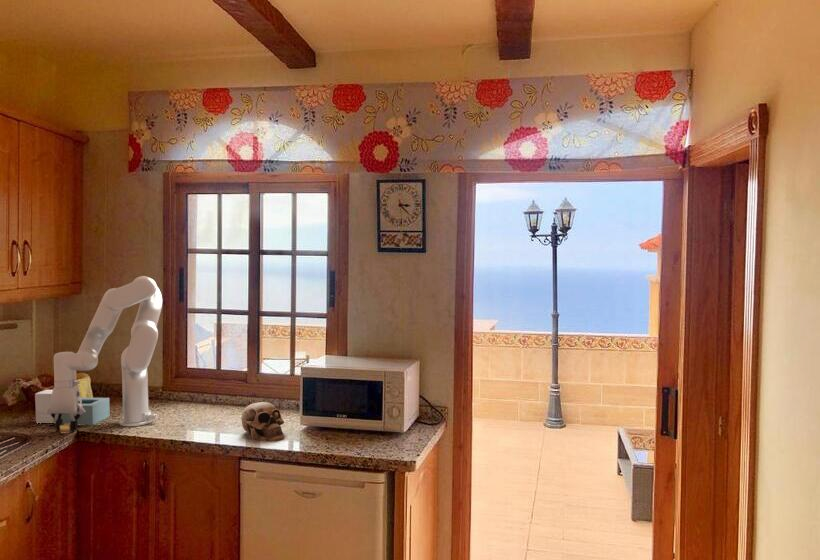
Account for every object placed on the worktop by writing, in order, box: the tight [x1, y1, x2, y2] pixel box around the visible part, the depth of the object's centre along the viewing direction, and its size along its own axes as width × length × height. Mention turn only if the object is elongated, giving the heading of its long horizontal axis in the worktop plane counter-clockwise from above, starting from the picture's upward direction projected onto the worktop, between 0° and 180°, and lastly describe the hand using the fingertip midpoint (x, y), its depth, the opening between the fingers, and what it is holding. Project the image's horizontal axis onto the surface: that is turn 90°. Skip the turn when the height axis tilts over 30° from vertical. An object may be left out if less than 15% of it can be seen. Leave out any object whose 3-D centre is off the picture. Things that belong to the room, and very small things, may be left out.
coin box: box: [61, 397, 111, 426], centre depth 255 cm, size 13×13×8 cm
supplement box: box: [34, 389, 56, 425], centre depth 254 cm, size 7×7×13 cm
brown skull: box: [241, 401, 285, 442], centre depth 236 cm, size 16×17×13 cm
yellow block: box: [59, 422, 72, 433], centre depth 240 cm, size 5×5×3 cm
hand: (66, 429), depth 240 cm, fingers closed on yellow block, 4 cm apart
